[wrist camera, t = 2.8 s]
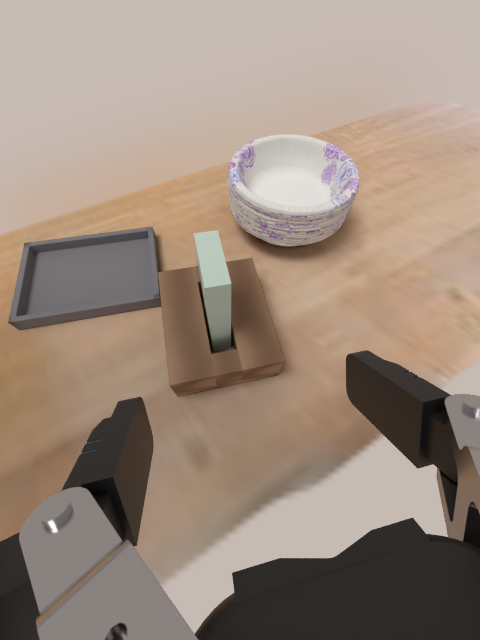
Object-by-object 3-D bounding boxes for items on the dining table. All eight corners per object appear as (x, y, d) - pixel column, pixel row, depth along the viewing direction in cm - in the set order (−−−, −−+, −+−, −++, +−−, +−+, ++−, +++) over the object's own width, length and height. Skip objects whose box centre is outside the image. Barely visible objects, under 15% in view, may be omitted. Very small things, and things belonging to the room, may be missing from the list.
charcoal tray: (19, 329, 29) (8, 322, 27) (33, 252, 34) (24, 243, 32) (162, 305, 31) (159, 297, 29) (155, 236, 36) (152, 226, 34)
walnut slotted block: (177, 396, 26) (169, 385, 22) (166, 294, 31) (158, 272, 28) (277, 375, 27) (284, 361, 24) (249, 280, 33) (252, 258, 29)
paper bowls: (219, 193, 40) (217, 135, 34) (315, 182, 42) (332, 126, 35) (241, 272, 33) (244, 220, 26) (354, 255, 35) (385, 203, 28)
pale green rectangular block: (213, 351, 27) (204, 288, 18) (205, 309, 30) (193, 233, 20) (230, 348, 28) (231, 283, 18) (221, 307, 30) (217, 230, 20)
